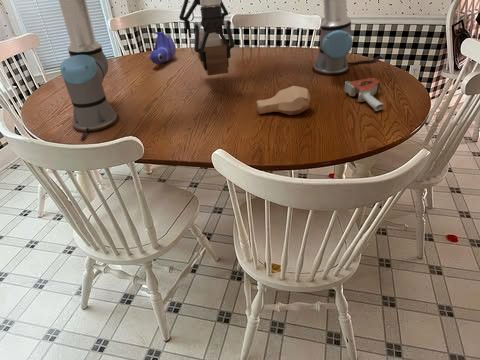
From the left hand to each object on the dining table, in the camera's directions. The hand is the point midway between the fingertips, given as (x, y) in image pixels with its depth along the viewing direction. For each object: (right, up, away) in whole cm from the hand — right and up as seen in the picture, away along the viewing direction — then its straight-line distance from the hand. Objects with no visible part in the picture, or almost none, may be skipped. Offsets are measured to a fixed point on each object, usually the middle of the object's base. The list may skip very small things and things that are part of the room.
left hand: (216, 67), depth 142 cm
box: (-2, +4, +8) cm, 9 cm away
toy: (-31, +16, +44) cm, 56 cm away
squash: (+26, -20, -10) cm, 34 cm away
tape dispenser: (+57, -14, -4) cm, 59 cm away
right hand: (-5, +17, +10) cm, 20 cm away
